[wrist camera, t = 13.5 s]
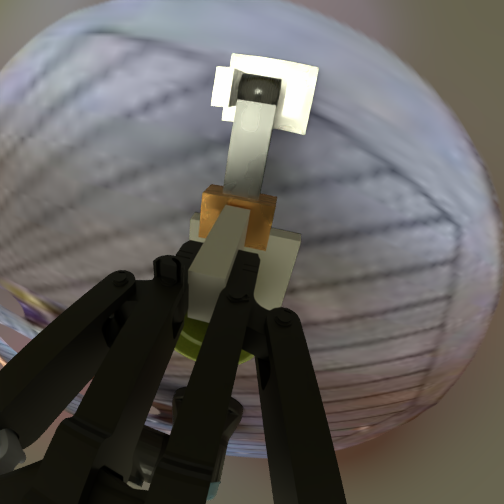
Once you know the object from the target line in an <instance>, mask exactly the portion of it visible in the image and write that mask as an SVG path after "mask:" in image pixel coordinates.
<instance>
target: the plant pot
mask: <svg viewBox="0 0 504 504" xmlns="http://www.w3.org/2000/svg"><path fill="white" fill-rule="evenodd" d="M208 325H209V323H208V322H204V321H200V320H196V319H192V318H189V317H188V310H187V313H186V315H185V317H184V327H183V329H182V332H181V334H180V336H179V339H178V341H177V344H176V346H175V348H174V350H175V351H177V352H178V353H180V354H182V355H183V356H185V357H187V358H189V359H192V360H194V361H196V359H197V356H198V353H199V351H200V348H201V345H202V342H203V339H204V336H205V333H206V331H207V328H208ZM253 357H254V355H252V354H250V353H248V352H246V351H244V350H241V354H240V358H239V363H238V364H242V363H244V362H246V361H248V360H250V359H251V358H253Z"/></svg>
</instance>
